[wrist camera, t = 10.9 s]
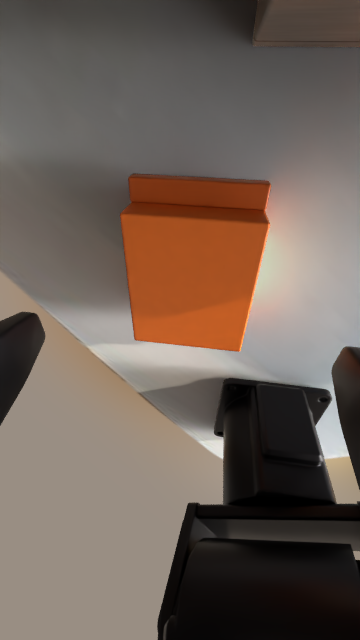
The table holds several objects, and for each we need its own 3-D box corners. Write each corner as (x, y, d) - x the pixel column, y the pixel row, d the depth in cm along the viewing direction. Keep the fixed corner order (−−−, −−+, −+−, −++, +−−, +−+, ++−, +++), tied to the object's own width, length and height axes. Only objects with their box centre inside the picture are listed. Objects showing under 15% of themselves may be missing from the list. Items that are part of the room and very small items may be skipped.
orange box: (266, 173, 10) (280, 194, 7) (236, 322, 14) (238, 365, 12) (139, 166, 10) (113, 184, 8) (149, 313, 14) (134, 353, 12)
